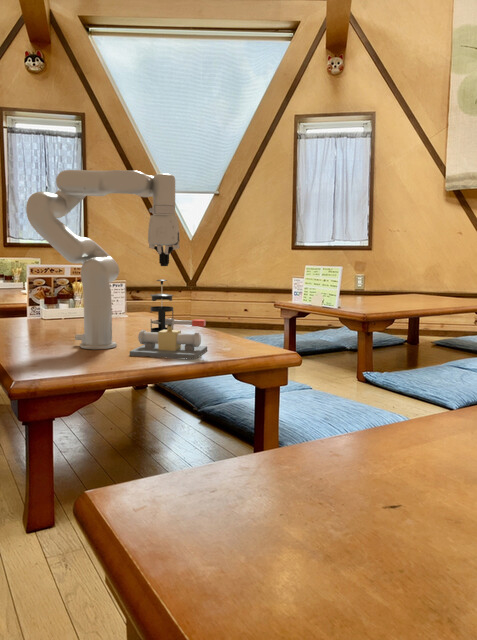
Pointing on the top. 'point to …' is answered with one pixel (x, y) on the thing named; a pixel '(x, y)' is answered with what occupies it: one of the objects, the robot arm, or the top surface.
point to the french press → (161, 310)
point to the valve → (169, 344)
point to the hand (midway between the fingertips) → (164, 265)
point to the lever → (186, 322)
